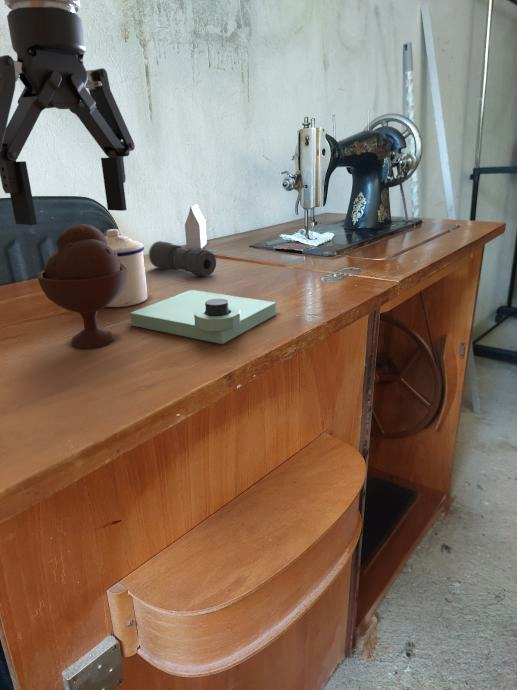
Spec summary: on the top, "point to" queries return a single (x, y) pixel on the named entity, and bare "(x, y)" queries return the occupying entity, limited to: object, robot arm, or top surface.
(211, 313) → the tare button
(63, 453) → the top surface
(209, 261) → the flashlight
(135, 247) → the teacup with lid
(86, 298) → the ice cream bowl
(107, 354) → the top surface
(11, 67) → the robot arm
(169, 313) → the scale
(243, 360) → the top surface
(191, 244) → the white pointed block
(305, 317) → the top surface
